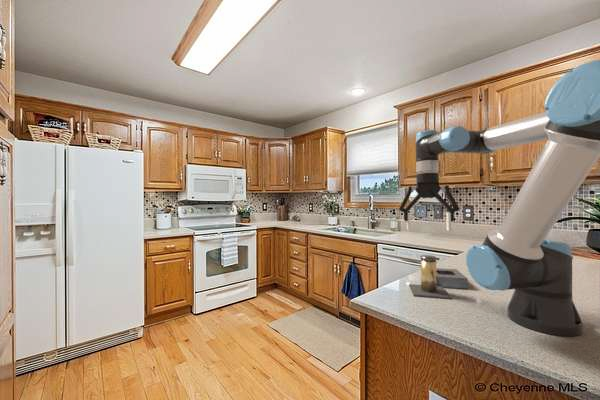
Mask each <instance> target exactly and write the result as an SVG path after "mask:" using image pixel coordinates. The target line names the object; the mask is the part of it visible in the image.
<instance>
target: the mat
mask: <svg viewBox="0 0 600 400" xmlns="http://www.w3.org/2000/svg"><path fill="white" fill-rule="evenodd" d="M408 287H409V288H410V291H411V293H412V295H413V297H420V298H431V299H444V300H452V296H451V294H449V292H448V291H447V290H446V288H445V287H442V286H437V292H435V293H429V292H424V291H422V290H421V284H414V283H409V284H408Z"/></svg>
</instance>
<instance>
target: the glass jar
mask: <svg viewBox="0 0 600 400" xmlns="http://www.w3.org/2000/svg"><path fill="white" fill-rule="evenodd" d="M436 268H437V256H434V255H431V254H429V255H428V254H426V255H425V254H423V255H420V285H421V290H422V291H424V292H429V293H435V292H437V278H436Z"/></svg>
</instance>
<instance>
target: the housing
mask: <svg viewBox="0 0 600 400" xmlns="http://www.w3.org/2000/svg"><path fill="white" fill-rule="evenodd" d="M436 278H437V286H442V287H443V288H448V289H463V290H468V289H469V285H468V283H469V281H468V280H469V279H468V277H466V276H465V275H464V274H463V273H462V272H460V271H459V270H457V268H456V269H455V268H443V267H442V268H441V267H436Z"/></svg>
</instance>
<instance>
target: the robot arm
mask: <svg viewBox="0 0 600 400" xmlns="http://www.w3.org/2000/svg"><path fill="white" fill-rule="evenodd" d="M543 106H544V108H543V109H544V110H545V111H543V112H539V113H537V114H533V115H530V116H529V115H528V116H526V117H522V118H518V119H516V120H512V121H508V122H506V123H502V124H499V125H495V126H492V127H488V128H485V129H482V130H468V129H467V128H465V127H464V126H461V125H456V126H451V127H448V128H446V129H444V130H442V131H441V130H440V131H438V130H435V129H426V130H423V131H419V132H417V134H416V136H415V144H414V145H415V162H416V164H415V167H416V171H415V172H416V173H417V174H416V176H415V177H416V180H415V181H416V184H415V185H416V186H408V187H407V192H406V194H405V196H404V198H403V200H402V202H401V204H400V206H399V208H398V211H400V212H403V220H404V221H405V222H406V229H407V231H411V213H410V212H409V211H410V210H411V209H412V208H413V207H414V205H415V204H416V203H417V202H418V201H419V200H420V199H421V198H422V199H434V198H435V199H436V200H437V201H438V203H440V204H441V205H442V206H443V207H444V208H445V210H447V211H448V212H446V214H445V215H446V231H448V232H451V231H452V222H454V221H455V213H456V212H459V211H460V207H459V205H458V203H457V202H456V200H455V198H454V197H453V195H452V193H451V191H450V186H449V185H447V184H446V185H444V186H440V174H439V173H438V172H439V170H440V166H439V160H440V159H439V156H440V155H442V154H448V153H453V154H454V153H456V154H480V155H485V154H492V153H494V152H496V151H497V150H502V149H507V148H513V147H518V146H522V145H523V146H524V145H528V144H533V143H538V142H545V141H546V142H545V145H544V147H543V148H542V150H541V152H540V154H539V156H538V157H537V159H536V160H535V163H534V164H533V166H532V168H531V170H530V172H529V174H528V175H527V177H526V179H525V181H524V183H523V185H522V186H521V188H520V190H519V192H518V193H517V195H516V197H515V199H514V201H513V203H512V205H511V206H510V208H509V210H508V211H507V214H506V215H505V217H504V219H503V221H502V223H501V225H500V226H499V228H497V229H492V230H490V231H489V232H488V233H487V235H486V237H485V238H484V241H483V242H482V244H481V243H479V244H475V245H473V246H472V245H471V247H470V248H469V249H468V250H467V252H466V256H465V264H466V267H467V270H468V272H469V275H470V276H471V278H472V279H473V280H474V282H475V283H477V284H478V285H479V286H481V288H484V289H486V290H489V291H501V292H502V291H503V292H504V291H507V290H514V291H513V294H512V296H511V298H510V301H509V303H508V306H507V317H508V318H509V319H510V320H511V321H513V322H514V323H516V324H518V325H520V326H523V327H525V328H527V329H530V330H534V331H537V332H539V333H544V334H549V335H555V336H560V337H561V336H562V337H577V336H578V337H579V336H580V335H582V334H583V332H584V327H583V326H584V325H583V321H582V319H581V316H580V314H579V311H578V310H577V307H576V305H575V302H574V300H573V259H574V257H573V255H572V248H571V246H570V244H568V243H566V242H565V241H564V242H562V241H558V240H548V239H546V238H547V236H548V235H549V233H550V231H552V229H553V228H554V226H555V224H556V223H557V221H558V220H559V218H560V216H561V215H562V214H563V212H564V211H565V210H566V208H567V206H568V205H569V203H570V202H571V201H572V199H573V198H574V196H575V194H576V193H577V191H578V190H579V188H580V187H581V185H582V184H583V183H584V181H585V180H586V178H587V177H588V175H589V174H590V172H591V171H592V169H593V167H594V166H595V165H596V163H597V161H599V159H600V59H595V60H590V61H588V62H585V63H582V64H580V65H578V66H576V67H574V68H573V69H571V70H568V72H566V73H564V74H563V75H562V76H561V77H560V78H559V79H557V81H556V82H555V83H554V84H553V85H552V87H551V88H550V90H549V91H548V93H547V95H546V96H545V100H544V104H543ZM440 191H442V192H443V193H444V195H445V197H446V198H447V199H448V202H449V203H450V204H449V203H448V202H447V201H446V200H445V199H444V198H443V197H442V196H441V195H440V193H439V192H440ZM414 192H416V193H417V194H416V195H415V197H414V199H412V200H411V201H410V203H409V204H408V205H407V202H408V201H409V199H410V197H411V194H412V193H414ZM406 205H407V206H406ZM450 205H451V206H450ZM405 206H406V207H405Z"/></svg>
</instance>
